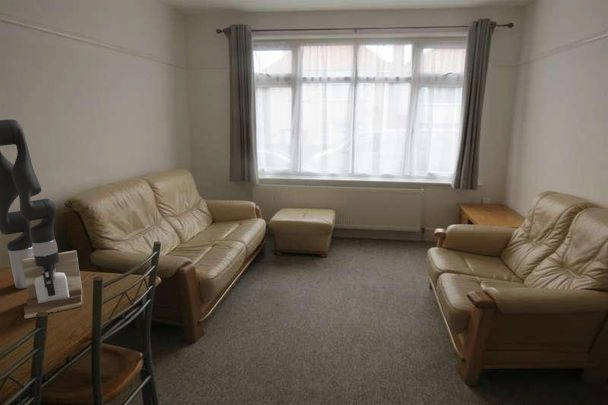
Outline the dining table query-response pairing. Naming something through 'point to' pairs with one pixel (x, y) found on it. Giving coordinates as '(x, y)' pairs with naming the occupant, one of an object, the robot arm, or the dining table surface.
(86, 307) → the dining table surface
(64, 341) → the dining table surface
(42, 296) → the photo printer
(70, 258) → the cleat board
